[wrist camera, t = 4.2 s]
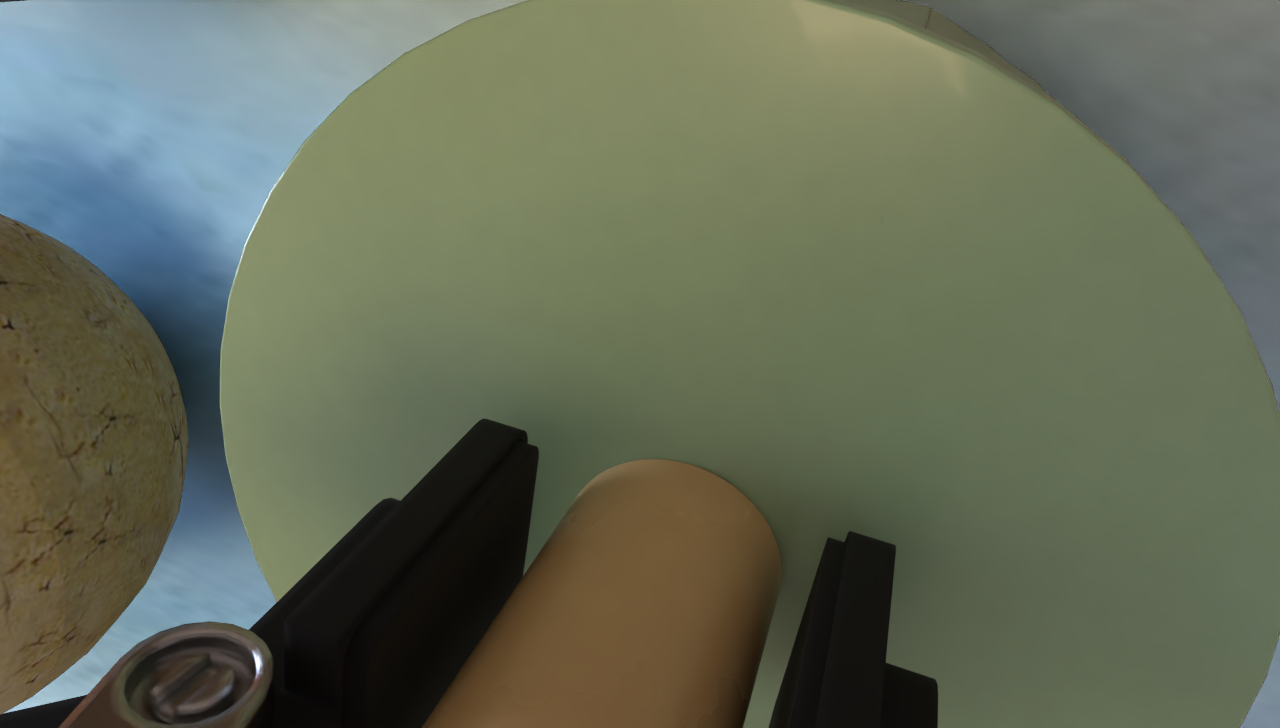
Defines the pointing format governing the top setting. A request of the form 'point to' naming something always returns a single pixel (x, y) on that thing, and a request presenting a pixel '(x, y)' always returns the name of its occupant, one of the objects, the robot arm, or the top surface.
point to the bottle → (9, 0)
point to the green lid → (766, 368)
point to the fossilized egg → (76, 456)
